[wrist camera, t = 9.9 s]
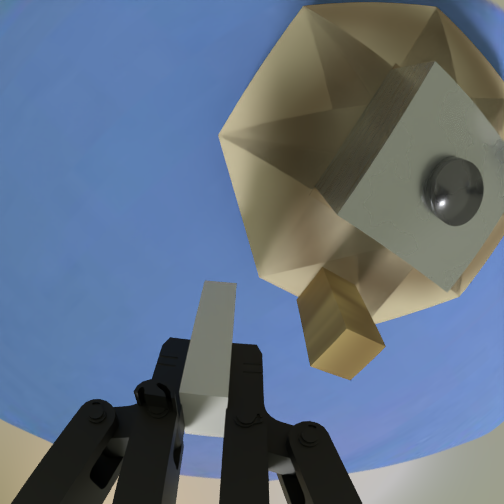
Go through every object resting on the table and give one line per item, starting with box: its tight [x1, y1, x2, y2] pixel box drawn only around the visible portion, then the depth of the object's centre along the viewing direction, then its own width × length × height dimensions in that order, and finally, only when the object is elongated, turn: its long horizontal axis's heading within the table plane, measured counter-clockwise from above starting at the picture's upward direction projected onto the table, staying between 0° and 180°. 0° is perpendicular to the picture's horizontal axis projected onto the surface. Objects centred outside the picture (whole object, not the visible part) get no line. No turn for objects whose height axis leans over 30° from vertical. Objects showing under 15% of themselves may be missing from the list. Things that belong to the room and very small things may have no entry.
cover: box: [315, 61, 504, 293], centre depth 11 cm, size 7×7×5 cm
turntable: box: [218, 2, 504, 380], centre depth 12 cm, size 18×18×7 cm
